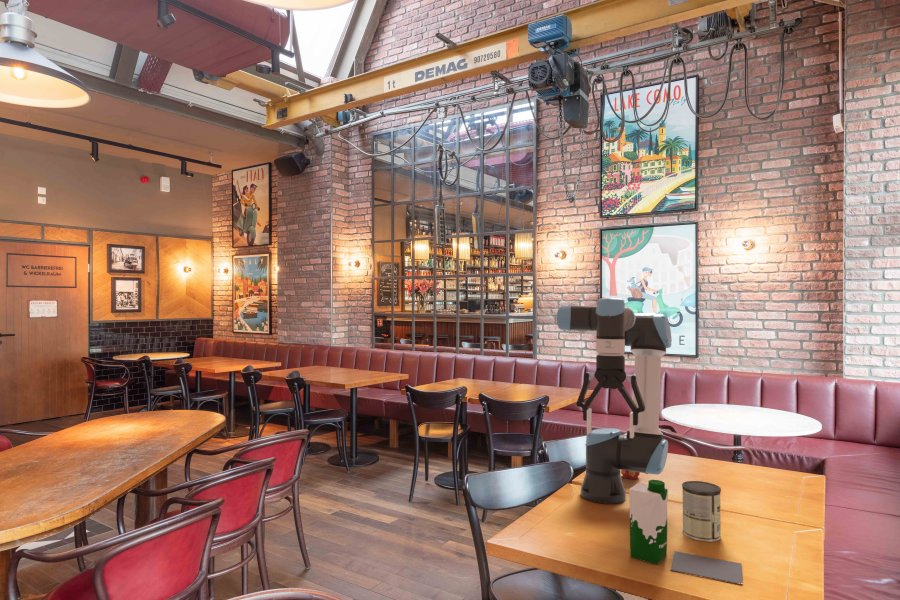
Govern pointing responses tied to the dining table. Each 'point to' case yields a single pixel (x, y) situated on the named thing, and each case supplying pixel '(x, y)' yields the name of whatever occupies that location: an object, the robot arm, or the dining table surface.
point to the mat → (707, 567)
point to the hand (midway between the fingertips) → (610, 434)
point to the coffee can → (701, 511)
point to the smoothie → (629, 473)
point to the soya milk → (648, 521)
